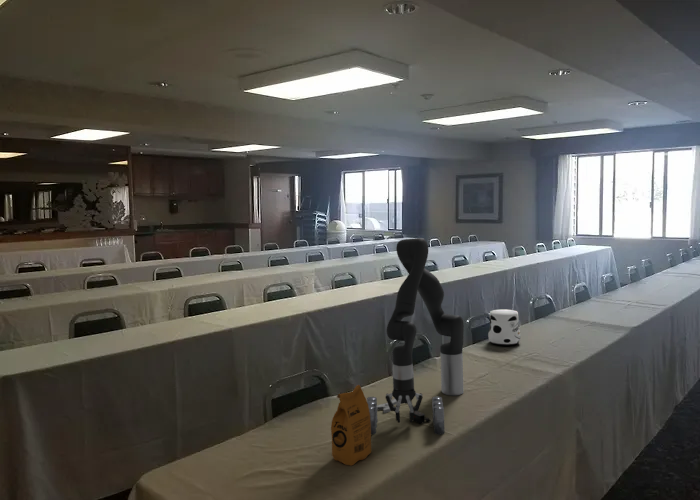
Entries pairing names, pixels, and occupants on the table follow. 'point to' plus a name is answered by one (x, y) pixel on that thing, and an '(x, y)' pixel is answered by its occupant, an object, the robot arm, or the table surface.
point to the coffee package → (351, 428)
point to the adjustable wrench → (386, 406)
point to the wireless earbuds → (420, 417)
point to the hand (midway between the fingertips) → (404, 421)
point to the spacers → (437, 414)
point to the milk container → (504, 327)
